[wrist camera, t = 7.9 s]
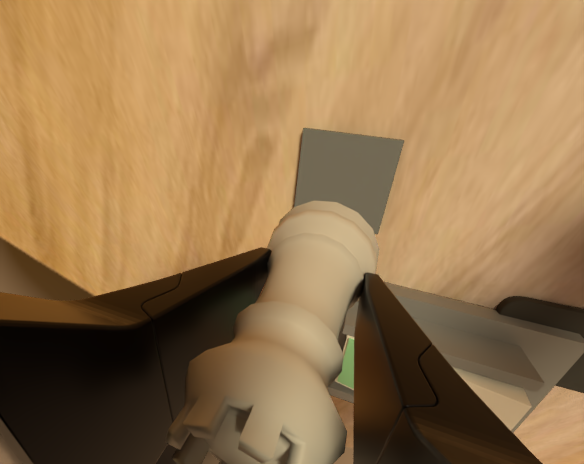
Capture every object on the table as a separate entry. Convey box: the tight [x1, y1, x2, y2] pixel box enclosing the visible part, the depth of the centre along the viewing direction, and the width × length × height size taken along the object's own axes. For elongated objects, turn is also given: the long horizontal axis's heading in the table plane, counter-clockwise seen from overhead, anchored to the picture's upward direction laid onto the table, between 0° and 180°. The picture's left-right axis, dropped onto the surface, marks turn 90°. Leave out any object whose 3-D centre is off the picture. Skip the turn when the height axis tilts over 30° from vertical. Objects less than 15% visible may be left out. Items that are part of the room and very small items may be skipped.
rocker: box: [335, 335, 532, 431], centre depth 20 cm, size 12×6×2 cm, turn 83°
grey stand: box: [328, 282, 584, 433], centre depth 21 cm, size 20×12×4 cm, turn 83°
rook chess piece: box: [165, 201, 379, 464], centre depth 7 cm, size 4×4×8 cm
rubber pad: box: [294, 128, 404, 234], centre depth 19 cm, size 7×7×1 cm
